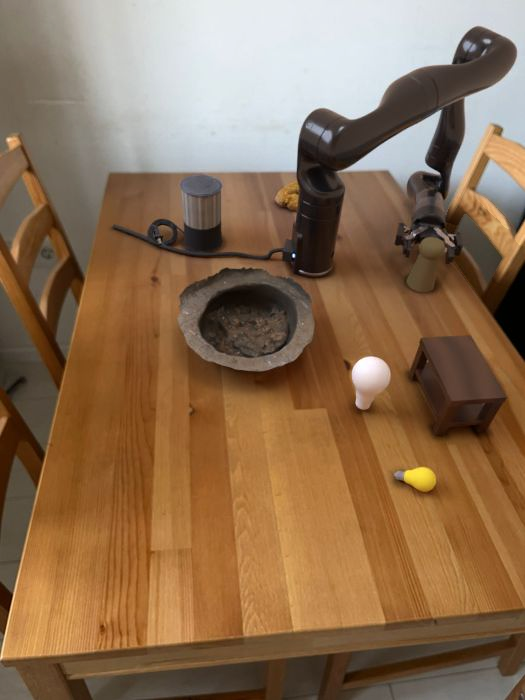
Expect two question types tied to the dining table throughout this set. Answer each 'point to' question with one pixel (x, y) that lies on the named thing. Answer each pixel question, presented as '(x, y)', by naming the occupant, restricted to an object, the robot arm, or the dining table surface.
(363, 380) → the lightbulb
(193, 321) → the stone bowl
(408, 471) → the light bulb
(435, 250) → the cork
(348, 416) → the dining table surface
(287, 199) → the golden lumpy piece
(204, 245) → the milk frother
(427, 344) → the shelf
